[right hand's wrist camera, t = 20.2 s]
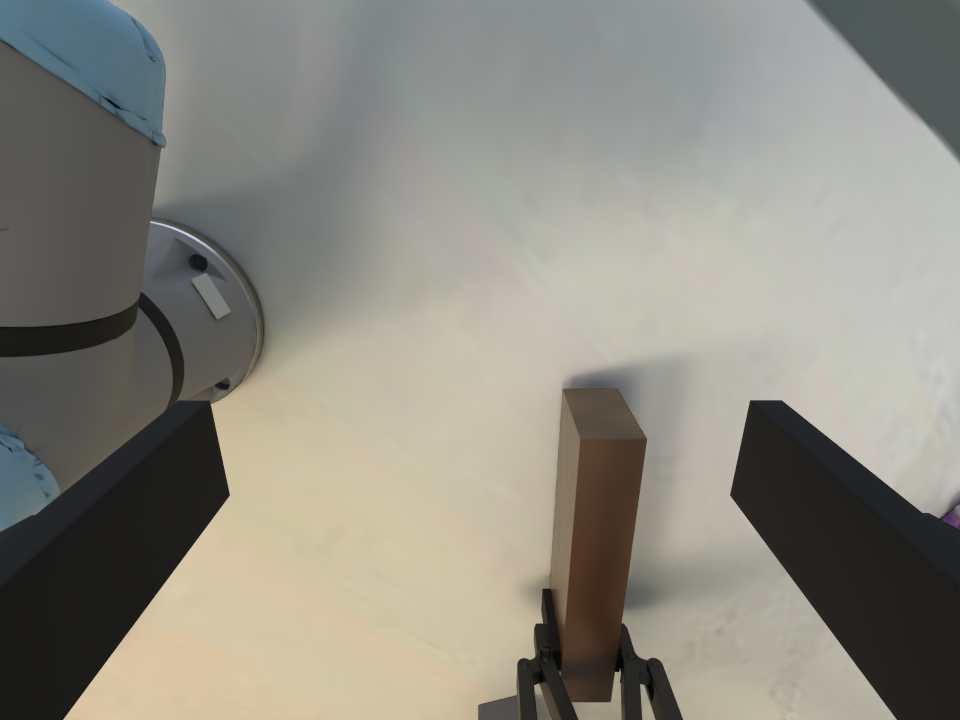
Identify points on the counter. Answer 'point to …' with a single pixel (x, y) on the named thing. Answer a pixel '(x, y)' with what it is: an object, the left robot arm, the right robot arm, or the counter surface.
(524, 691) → the left robot arm
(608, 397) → the walnut beam
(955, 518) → the figurine
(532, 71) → the counter surface
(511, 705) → the slate block
